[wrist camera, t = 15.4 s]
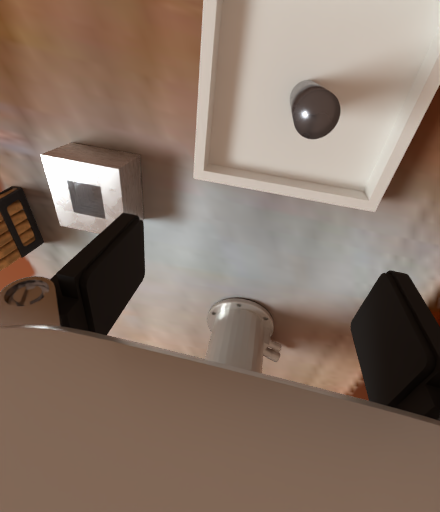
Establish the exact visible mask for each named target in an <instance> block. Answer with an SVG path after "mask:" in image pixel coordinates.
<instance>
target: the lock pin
mask: <svg viewBox="0 0 440 512" xmlns="http://www.w3.org/2000/svg"><path fill="white" fill-rule="evenodd" d="M290 106H291V112H292V117H293V122H294V126H295V129H296V130H297V132H298V133H299V134H300V135H301V136H303V137H304V138H307V139H319V138H322V137H324V136H326V135H327V134H329V133H330V132H331V131H332V130H333V129H334V128H335V126H336V125H337V123H338V120H339V118H340V112H341V109H340V103H339V101H338V99H337V97H336V96H335V95H334V94H333V93H332V92H330V91H328V90H327V89H325V88H324V87H322V86H321V85H319V84H317V83H316V82H314V81H312V80H304V81H301V82H299V83H298V84H297V85H296V86H295V87H294V88H293V89H292V91H291V94H290Z"/></svg>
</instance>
